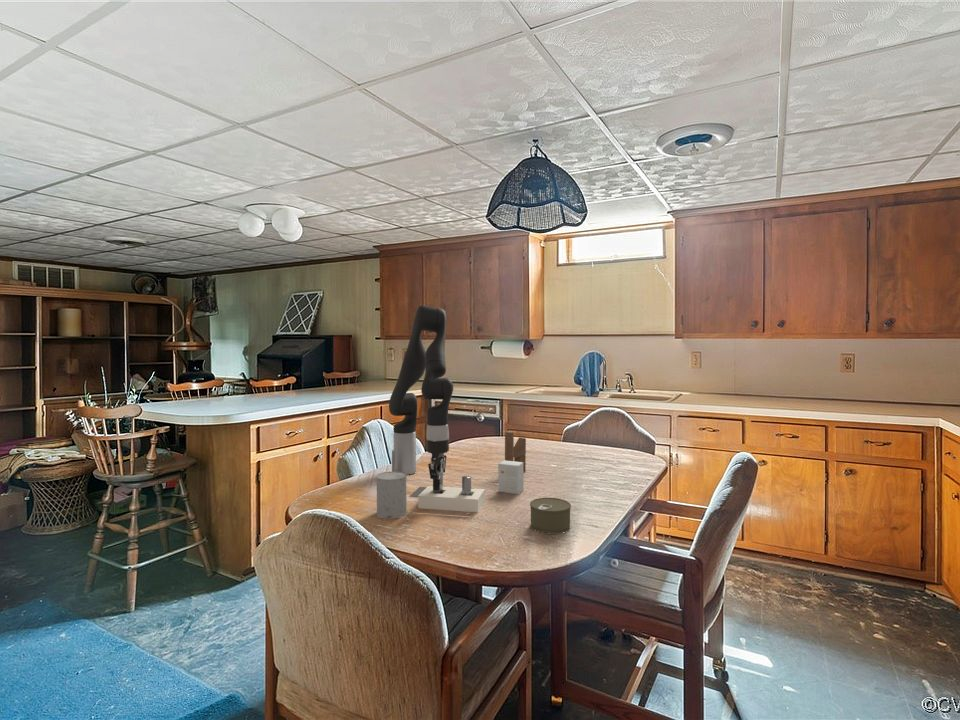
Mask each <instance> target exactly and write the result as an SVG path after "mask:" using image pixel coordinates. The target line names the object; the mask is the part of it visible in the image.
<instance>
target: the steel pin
mask: <svg viewBox="0 0 960 720" xmlns="http://www.w3.org/2000/svg"><path fill="white" fill-rule="evenodd" d="M437 470H439V469H437ZM434 475H436V474H434ZM443 487H444V475H443V468H442V471H441V472H440V490H439V491H436V490H434V493H436V494H443Z"/></svg>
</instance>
